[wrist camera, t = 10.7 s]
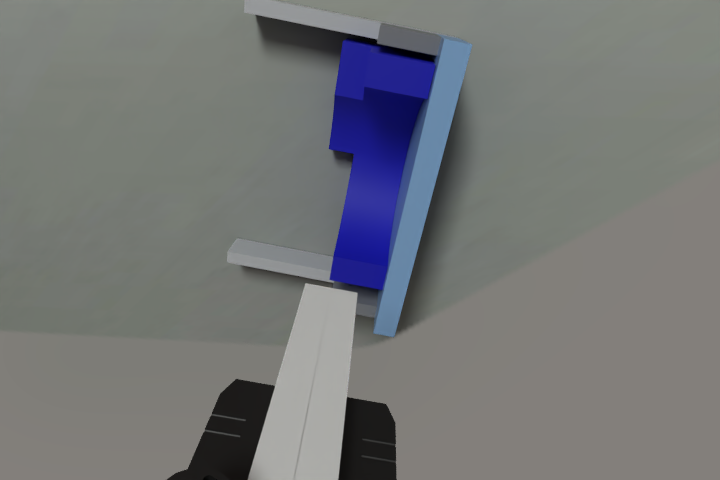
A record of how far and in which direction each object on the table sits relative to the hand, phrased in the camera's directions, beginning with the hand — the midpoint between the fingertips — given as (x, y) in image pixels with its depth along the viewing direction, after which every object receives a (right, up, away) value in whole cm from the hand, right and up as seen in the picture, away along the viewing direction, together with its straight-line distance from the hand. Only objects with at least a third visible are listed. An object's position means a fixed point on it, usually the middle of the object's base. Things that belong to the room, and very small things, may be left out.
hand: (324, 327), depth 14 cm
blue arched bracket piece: (+2, +8, +15) cm, 18 cm away
